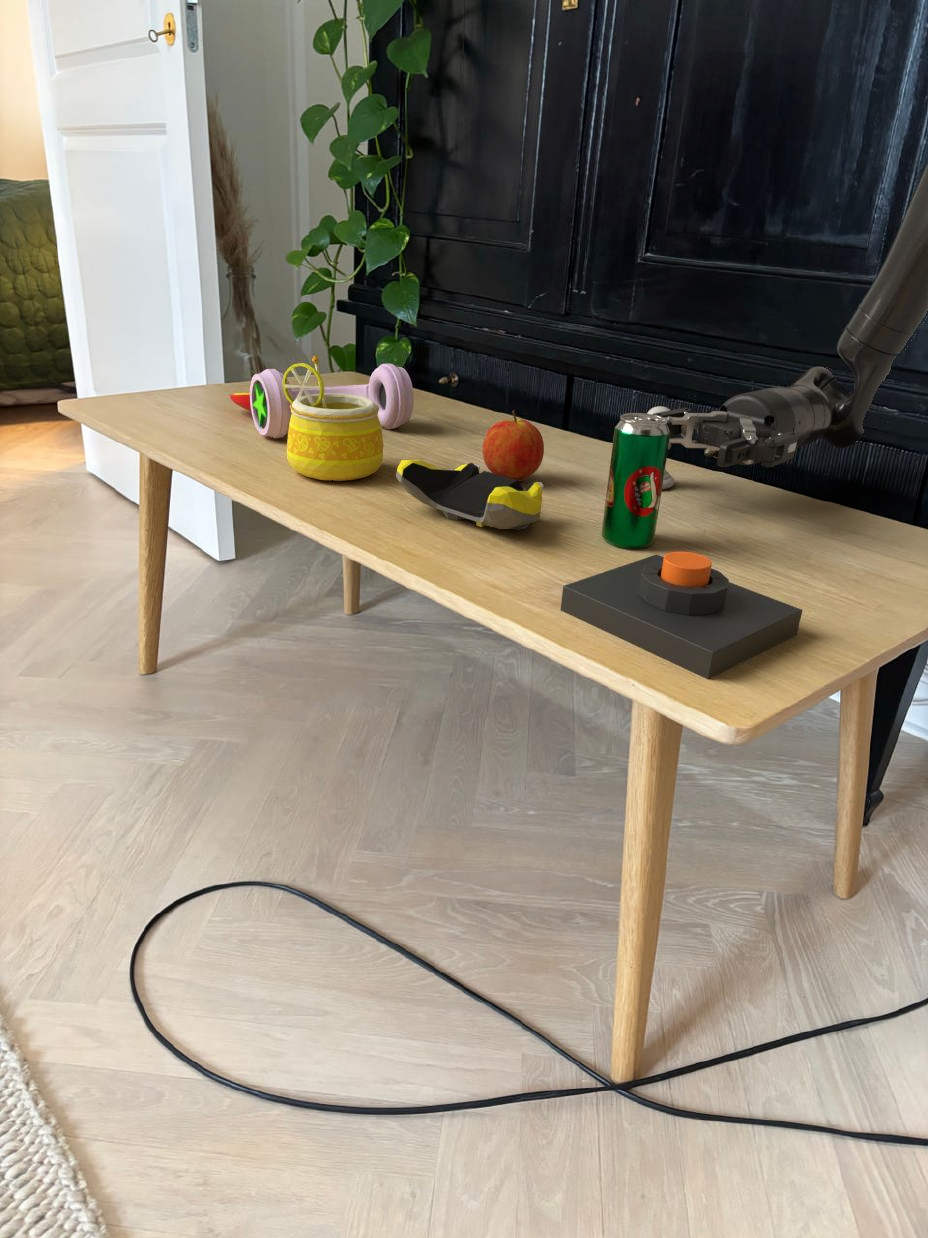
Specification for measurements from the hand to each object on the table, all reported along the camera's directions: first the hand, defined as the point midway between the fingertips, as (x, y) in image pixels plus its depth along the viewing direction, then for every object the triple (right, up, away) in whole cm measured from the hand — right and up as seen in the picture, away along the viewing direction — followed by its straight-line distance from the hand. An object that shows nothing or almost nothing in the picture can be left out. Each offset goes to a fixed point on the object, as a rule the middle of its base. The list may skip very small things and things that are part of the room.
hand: (683, 446), depth 89 cm
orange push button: (-4, -14, -19) cm, 24 cm away
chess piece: (0, -1, +17) cm, 17 cm away
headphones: (-42, +10, +35) cm, 56 cm away
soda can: (-6, -10, -1) cm, 11 cm away
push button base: (-5, -17, -17) cm, 25 cm away
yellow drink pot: (-37, 0, +16) cm, 40 cm away
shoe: (-20, -7, +2) cm, 22 cm away
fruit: (-16, -1, +16) cm, 22 cm away
